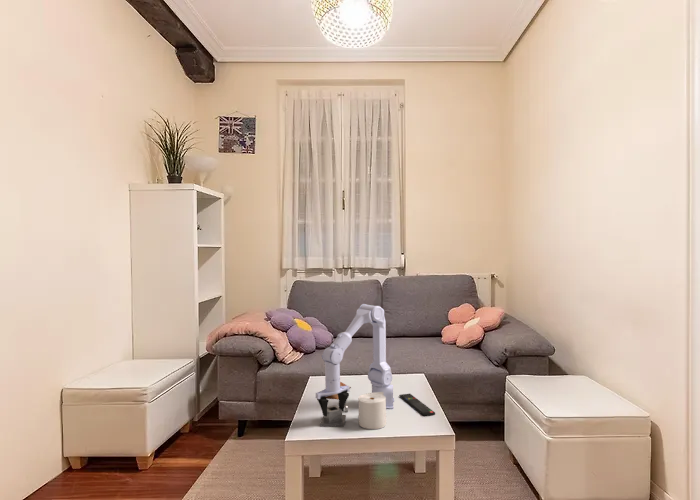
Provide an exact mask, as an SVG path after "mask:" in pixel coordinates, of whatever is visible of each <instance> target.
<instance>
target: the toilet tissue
mask: <svg viewBox="0 0 700 500" xmlns="http://www.w3.org/2000/svg"><path fill="white" fill-rule="evenodd" d="M358 425H359V426H360V427H362V428H364V429H367V430H378V429H382V428H385V426H386V425H387V408H386V397H385V396H384V392H373V393H372V392H368V393H364V394H361V395H359V396H358Z"/></svg>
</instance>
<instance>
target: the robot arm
mask: <svg viewBox="0 0 700 500" xmlns="http://www.w3.org/2000/svg"><path fill="white" fill-rule="evenodd" d="M355 312H356V313H355V315H354V317H353V319H352V320H351V322H350V323H349V325H348V327H347V328H346V330H345V331H343V332H340V333H338V334H337V335H336V336H337V337H336V338H335V339H334V340H333V342H332V343H331V344H330V346H328V347H326V348H325V349H324V350H323V351H322V354H321V359H322V360H323V362H324V364H323V365H324V370H325V371H324V372H325V373H324V374H325V376H324V379H325V384H324V385H325V388H324V389H322V390H321V391H317V392H315V399H316V400H317V402H318V403H319V406H320V409H321V412H322V416H323V415H324V416H327V407H328V406H329V405H328V404H329V400H330V399H326V397H327V396H330V395H334V394H338V407H339V408H341V409H342V413H343V412H345V409H344V407H345V405H346V404H347V400H348V398H349V396H350V393H349V392H351V391H350V389H351V388H350V387H351V386H350V385H348V384H346V386H340V382H341V369H340V368H341V365H340V364H341V362H342V361H343V358H344V355H345V351H346V350H348V349H347V348H348V347H350V345H351V343H352V342H353V340H352V339H353V338H352V337H353V336H354V335H355V334H356V333H357V332H358V330H359V329H360V328H361V327H362V326H363V325H364V324H371V326H372V362H371V363H370V364H369V365H368V367H369V368H368V371H367V372H368V373H367V378H368V380H369V381H370V384H371V393H373V392H384V396H385V397H386V409H394V403H395V397H394V384H392V382H393V373H392V370H391V369H392V367H390V365H389V363H387V354H386V353H387V348H386V347H387V345H386V344H387V337H386V336H387V335H386V334H387V330H386V328H387V326H386V325H387V324H386V323H387V322H386V317H385V310H384V308H382V307H381V306H380V305H372V304H371V305H370V304H366V303H362V304H361V305H360V306H359V307H358V308H357V309H356V311H355ZM349 386H350V387H349Z"/></svg>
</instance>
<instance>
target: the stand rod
mask: <svg viewBox="0 0 700 500" xmlns="http://www.w3.org/2000/svg"><path fill="white" fill-rule="evenodd" d="M344 413H349V406H348V405H347V404H345V407H344Z"/></svg>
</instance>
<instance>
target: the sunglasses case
mask: <svg viewBox="0 0 700 500" xmlns="http://www.w3.org/2000/svg"><path fill="white" fill-rule="evenodd" d="M346 385H347V384H345V383H344V382H341V381H340V386H346ZM348 386H349V387H350V389H351V388H352V387H351V386H350V385H348ZM326 399H327V400H338V401H339V399H338V394H334V395H330V396H327V397H326Z"/></svg>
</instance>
